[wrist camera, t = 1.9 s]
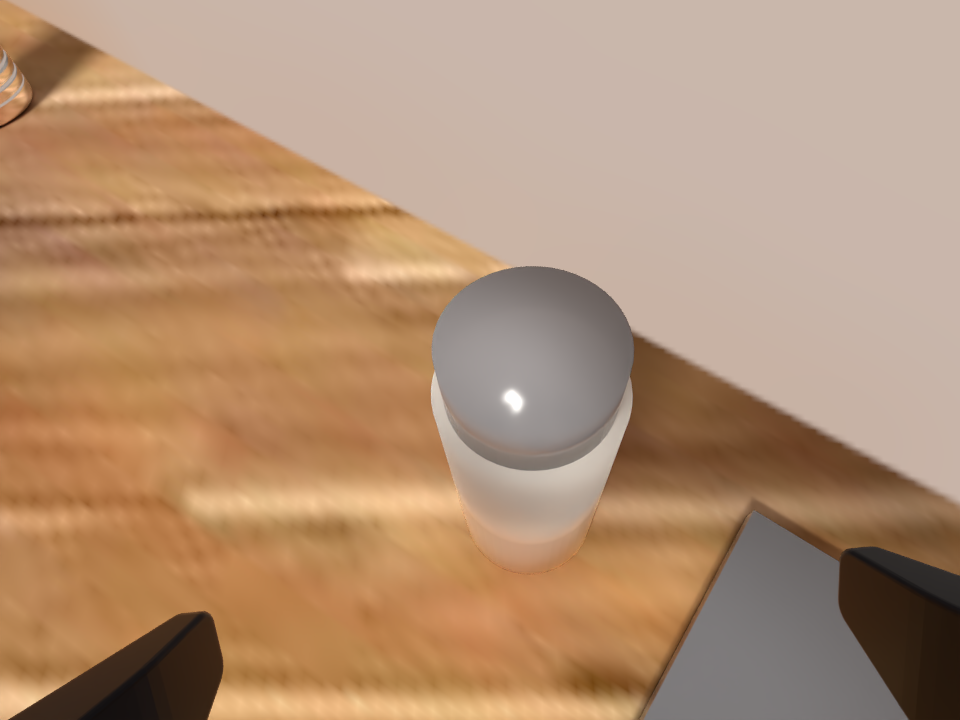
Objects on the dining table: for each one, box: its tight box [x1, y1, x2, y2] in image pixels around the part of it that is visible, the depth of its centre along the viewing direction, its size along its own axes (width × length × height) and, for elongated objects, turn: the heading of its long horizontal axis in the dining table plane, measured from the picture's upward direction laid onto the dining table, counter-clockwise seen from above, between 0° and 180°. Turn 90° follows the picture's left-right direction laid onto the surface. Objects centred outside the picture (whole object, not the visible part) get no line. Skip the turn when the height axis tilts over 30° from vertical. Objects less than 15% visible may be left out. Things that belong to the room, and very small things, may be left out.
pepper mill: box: [431, 266, 634, 574], centre depth 17 cm, size 5×5×12 cm
